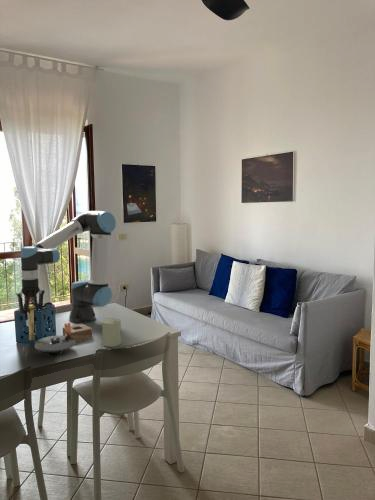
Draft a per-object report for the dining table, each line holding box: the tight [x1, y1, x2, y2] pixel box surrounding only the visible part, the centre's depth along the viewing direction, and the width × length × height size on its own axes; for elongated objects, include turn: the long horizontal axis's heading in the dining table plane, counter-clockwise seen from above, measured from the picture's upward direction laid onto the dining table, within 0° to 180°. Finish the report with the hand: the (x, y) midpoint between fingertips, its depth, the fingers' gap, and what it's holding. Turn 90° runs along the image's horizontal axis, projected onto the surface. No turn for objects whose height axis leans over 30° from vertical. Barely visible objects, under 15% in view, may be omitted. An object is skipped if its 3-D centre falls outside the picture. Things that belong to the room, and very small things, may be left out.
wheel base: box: [48, 351, 63, 355], centre depth 191 cm, size 6×6×3 cm
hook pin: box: [28, 303, 36, 341], centre depth 201 cm, size 4×4×17 cm
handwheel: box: [34, 322, 76, 353], centre depth 190 cm, size 18×18×8 cm
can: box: [101, 318, 122, 348], centre depth 202 cm, size 9×9×12 cm
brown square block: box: [62, 323, 93, 343], centre depth 211 cm, size 11×11×5 cm
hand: (31, 325), depth 201 cm, fingers closed on hook pin, 3 cm apart
